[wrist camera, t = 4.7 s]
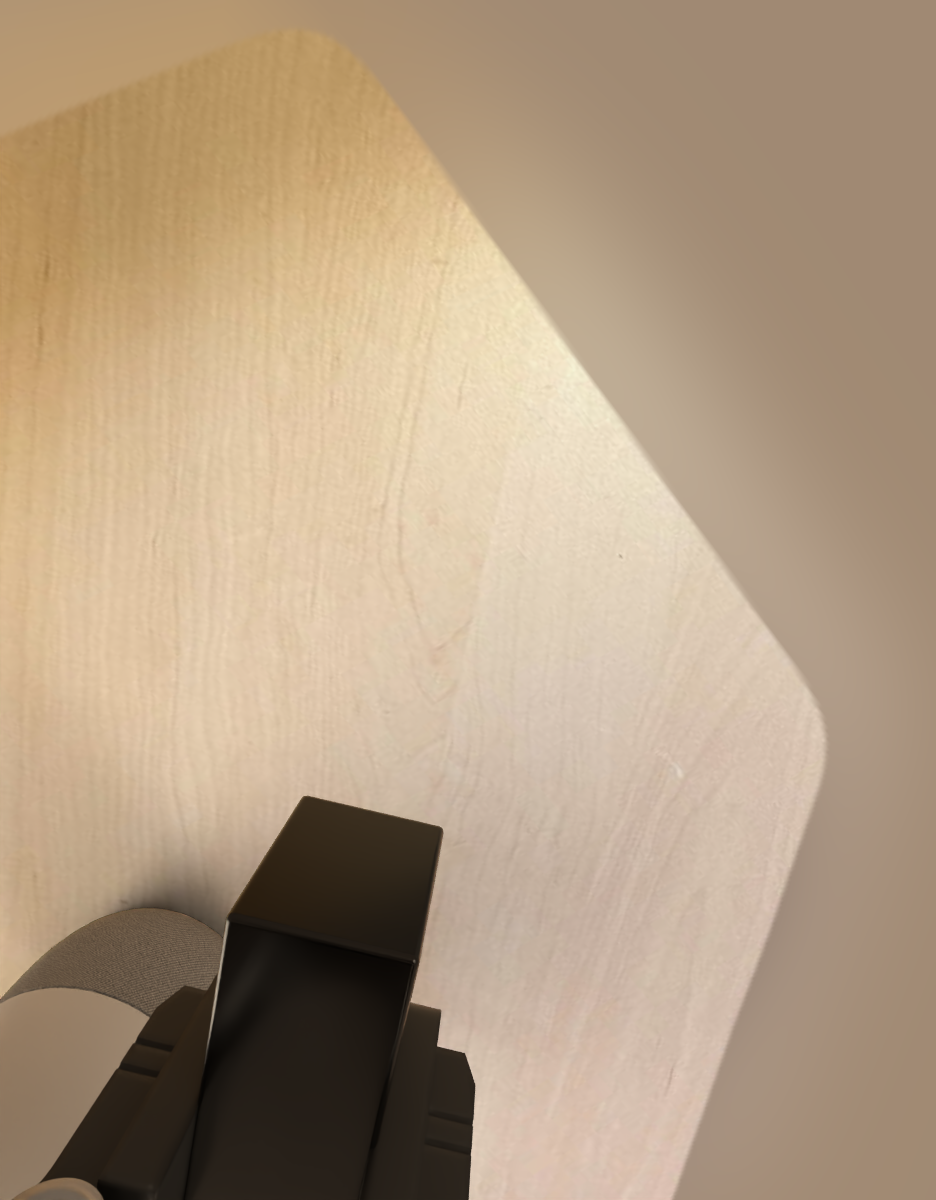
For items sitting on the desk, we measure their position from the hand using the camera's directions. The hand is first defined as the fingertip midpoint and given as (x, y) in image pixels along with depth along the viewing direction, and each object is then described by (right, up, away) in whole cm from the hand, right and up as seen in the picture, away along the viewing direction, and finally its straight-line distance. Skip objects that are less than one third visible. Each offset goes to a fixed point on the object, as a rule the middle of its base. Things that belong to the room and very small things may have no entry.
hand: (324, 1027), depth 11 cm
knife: (-1, -3, +1) cm, 4 cm away
